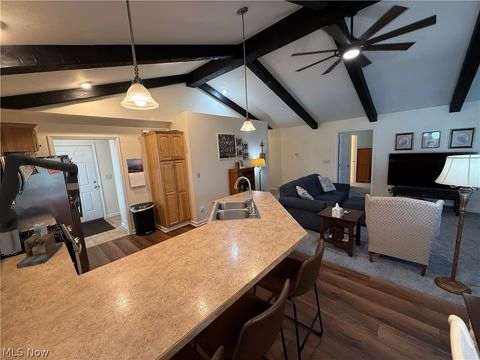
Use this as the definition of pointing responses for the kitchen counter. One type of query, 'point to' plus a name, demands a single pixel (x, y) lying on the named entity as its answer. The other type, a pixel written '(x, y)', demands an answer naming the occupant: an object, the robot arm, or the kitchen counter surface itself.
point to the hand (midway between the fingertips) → (75, 208)
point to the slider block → (40, 247)
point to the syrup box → (43, 229)
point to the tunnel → (39, 258)
